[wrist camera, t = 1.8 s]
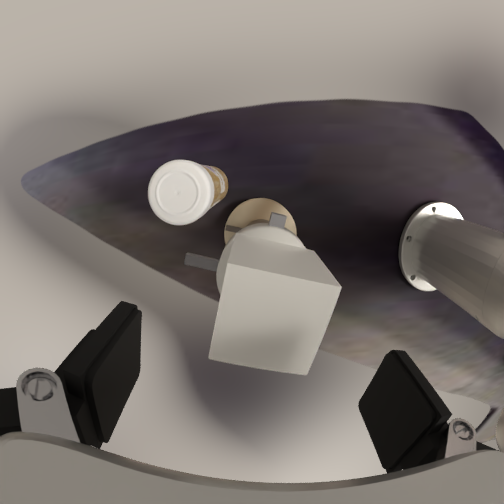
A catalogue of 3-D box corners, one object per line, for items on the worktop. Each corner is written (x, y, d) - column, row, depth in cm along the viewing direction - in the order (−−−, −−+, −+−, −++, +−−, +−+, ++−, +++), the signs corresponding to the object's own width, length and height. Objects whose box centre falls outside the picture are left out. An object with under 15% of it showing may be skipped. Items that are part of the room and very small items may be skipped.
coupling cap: (321, 223, 19) (366, 258, 11) (291, 321, 21) (309, 396, 13) (202, 196, 19) (164, 211, 11) (184, 298, 21) (150, 366, 13)
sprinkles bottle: (232, 170, 30) (218, 166, 17) (223, 209, 31) (202, 233, 18) (193, 162, 30) (153, 153, 17) (185, 200, 31) (140, 218, 18)
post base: (302, 206, 31) (330, 225, 20) (284, 271, 33) (300, 321, 22) (233, 190, 31) (222, 199, 19) (219, 257, 33) (202, 301, 21)
